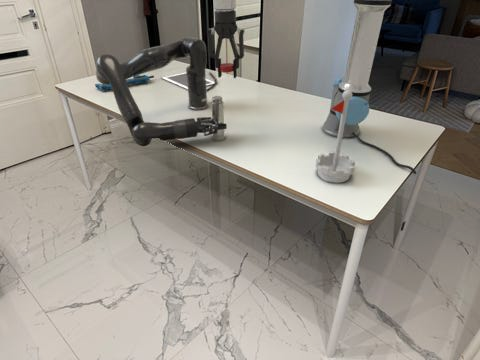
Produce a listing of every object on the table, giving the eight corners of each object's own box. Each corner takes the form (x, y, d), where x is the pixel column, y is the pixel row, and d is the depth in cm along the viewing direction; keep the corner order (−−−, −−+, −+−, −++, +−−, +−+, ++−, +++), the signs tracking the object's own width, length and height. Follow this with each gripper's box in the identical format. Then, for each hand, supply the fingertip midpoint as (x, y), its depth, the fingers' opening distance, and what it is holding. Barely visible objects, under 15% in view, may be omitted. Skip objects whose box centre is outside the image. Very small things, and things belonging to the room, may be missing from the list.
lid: (233, 68, 132) (233, 62, 131) (235, 72, 127) (235, 66, 126) (219, 68, 131) (219, 63, 130) (220, 72, 127) (220, 67, 126)
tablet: (161, 78, 216) (161, 77, 216) (188, 72, 227) (188, 71, 227) (189, 90, 196) (189, 89, 195) (217, 83, 207) (217, 82, 206)
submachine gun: (140, 68, 224) (158, 75, 207) (141, 74, 226) (159, 81, 209) (87, 79, 205) (103, 86, 189) (89, 85, 207) (104, 93, 190)
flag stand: (338, 161, 126) (352, 82, 110) (360, 179, 116) (380, 94, 100) (307, 168, 122) (318, 86, 106) (328, 187, 112) (342, 100, 96)
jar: (211, 139, 143) (209, 98, 133) (215, 134, 147) (213, 94, 137) (222, 141, 141) (220, 100, 132) (226, 136, 145) (225, 96, 136)
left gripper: (186, 127, 129) (229, 121, 134) (179, 113, 140) (219, 108, 145) (188, 145, 133) (229, 138, 138) (181, 130, 144) (220, 125, 149)
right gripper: (252, 8, 120) (252, 74, 132) (202, 8, 123) (207, 73, 135) (249, 11, 114) (249, 80, 126) (196, 11, 117) (202, 78, 129)
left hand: (224, 123), depth 141 cm, fingers closed on jar, 5 cm apart
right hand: (227, 76), depth 131 cm, fingers closed on lid, 5 cm apart
